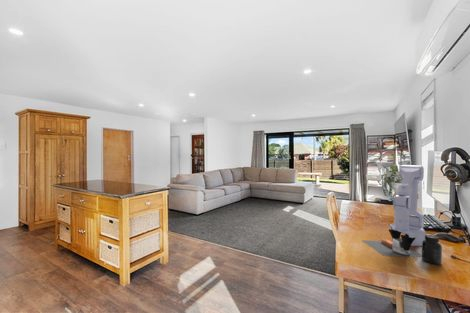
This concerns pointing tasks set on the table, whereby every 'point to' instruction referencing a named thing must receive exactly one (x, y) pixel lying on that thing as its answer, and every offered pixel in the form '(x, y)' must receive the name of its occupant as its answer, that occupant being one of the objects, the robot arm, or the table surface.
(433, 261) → the supplement bottle
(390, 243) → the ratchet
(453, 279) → the table surface
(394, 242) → the socket
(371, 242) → the mat
